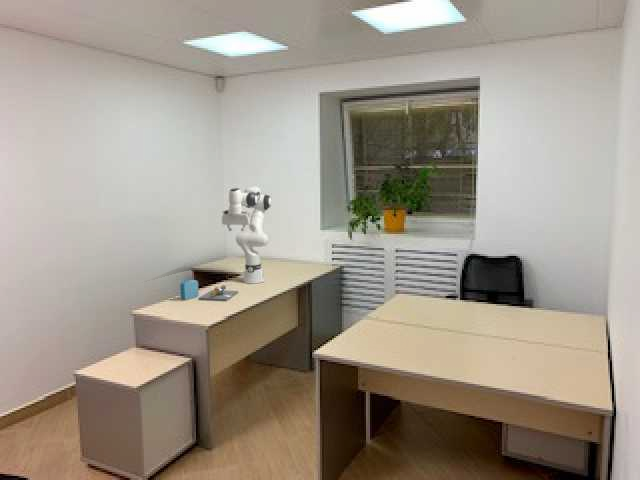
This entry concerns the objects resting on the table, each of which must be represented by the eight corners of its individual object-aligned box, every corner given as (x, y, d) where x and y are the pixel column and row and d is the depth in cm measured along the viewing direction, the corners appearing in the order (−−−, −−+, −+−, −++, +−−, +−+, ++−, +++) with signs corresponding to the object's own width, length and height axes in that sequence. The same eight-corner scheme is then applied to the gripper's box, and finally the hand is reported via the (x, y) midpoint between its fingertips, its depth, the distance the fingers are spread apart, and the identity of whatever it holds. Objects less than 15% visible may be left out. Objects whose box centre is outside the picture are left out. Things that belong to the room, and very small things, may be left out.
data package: (194, 296, 342) (193, 279, 340) (198, 296, 339) (198, 280, 338) (180, 299, 332) (179, 282, 330) (185, 300, 330) (184, 283, 328)
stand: (212, 291, 353) (212, 288, 352) (239, 293, 348) (239, 290, 348) (198, 299, 331) (198, 296, 331) (227, 301, 327) (227, 298, 327)
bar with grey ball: (220, 290, 350) (220, 283, 349) (228, 290, 349) (228, 283, 348) (208, 297, 330) (208, 290, 330) (217, 297, 329) (216, 290, 329)
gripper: (251, 211, 344) (251, 230, 346) (224, 211, 348) (224, 230, 350) (248, 212, 338) (248, 231, 340) (220, 211, 342) (221, 231, 344)
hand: (236, 231), depth 345 cm, fingers open, 8 cm apart
